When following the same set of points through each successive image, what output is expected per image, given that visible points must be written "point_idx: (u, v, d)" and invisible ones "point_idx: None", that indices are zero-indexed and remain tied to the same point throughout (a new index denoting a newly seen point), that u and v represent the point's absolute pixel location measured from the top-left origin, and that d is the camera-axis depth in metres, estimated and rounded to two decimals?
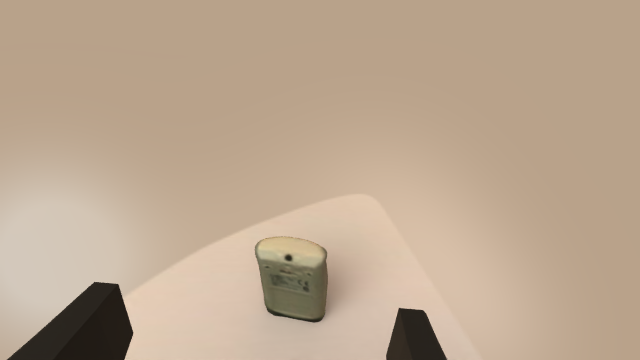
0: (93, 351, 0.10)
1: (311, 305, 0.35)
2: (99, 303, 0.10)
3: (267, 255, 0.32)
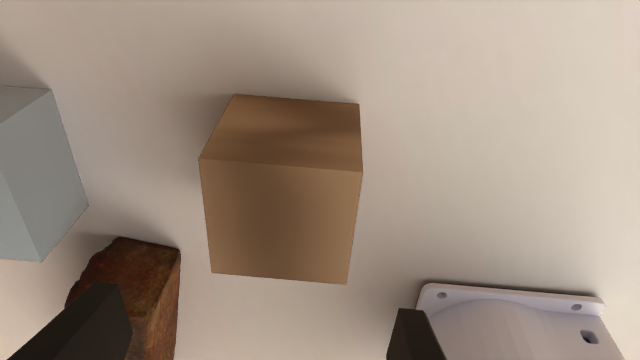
0: (93, 351, 0.10)
1: None
2: (99, 303, 0.10)
3: None
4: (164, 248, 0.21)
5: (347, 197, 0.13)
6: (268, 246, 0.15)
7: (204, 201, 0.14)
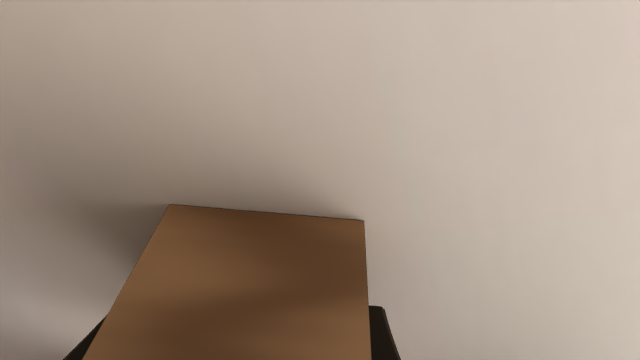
0: None
1: None
2: None
3: None
4: None
5: None
6: None
7: None
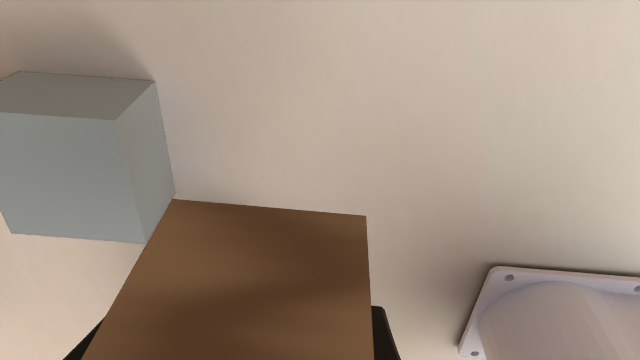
0: None
1: None
2: None
3: None
4: None
5: None
6: None
7: None
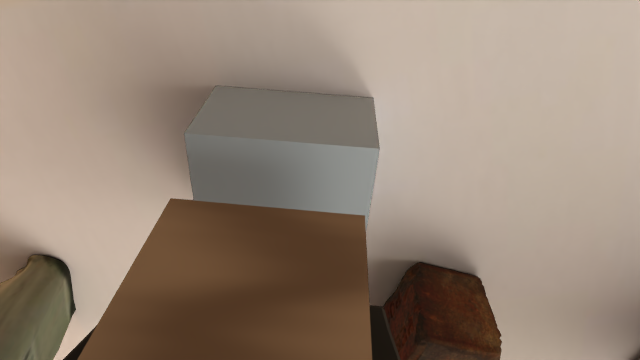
0: None
1: (48, 311, 0.20)
2: None
3: None
4: (465, 274, 0.21)
5: None
6: None
7: None
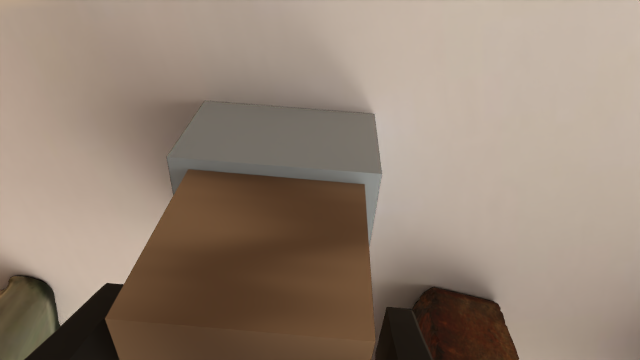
0: (106, 352, 0.10)
1: (28, 337, 0.19)
2: (112, 304, 0.10)
3: None
4: (483, 300, 0.20)
5: None
6: None
7: None
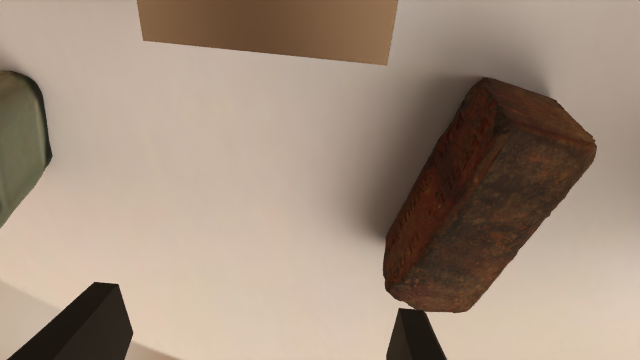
0: (93, 351, 0.10)
1: (14, 123, 0.17)
2: (99, 303, 0.10)
3: None
4: None
5: None
6: None
7: None
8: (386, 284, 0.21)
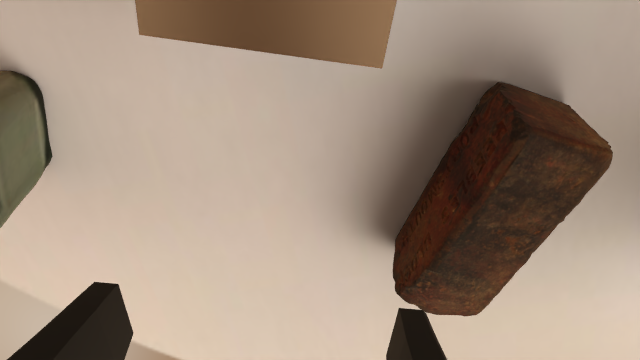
0: (93, 351, 0.10)
1: (13, 122, 0.17)
2: (99, 303, 0.10)
3: None
4: (552, 99, 0.18)
5: None
6: None
7: None
8: (396, 287, 0.21)
